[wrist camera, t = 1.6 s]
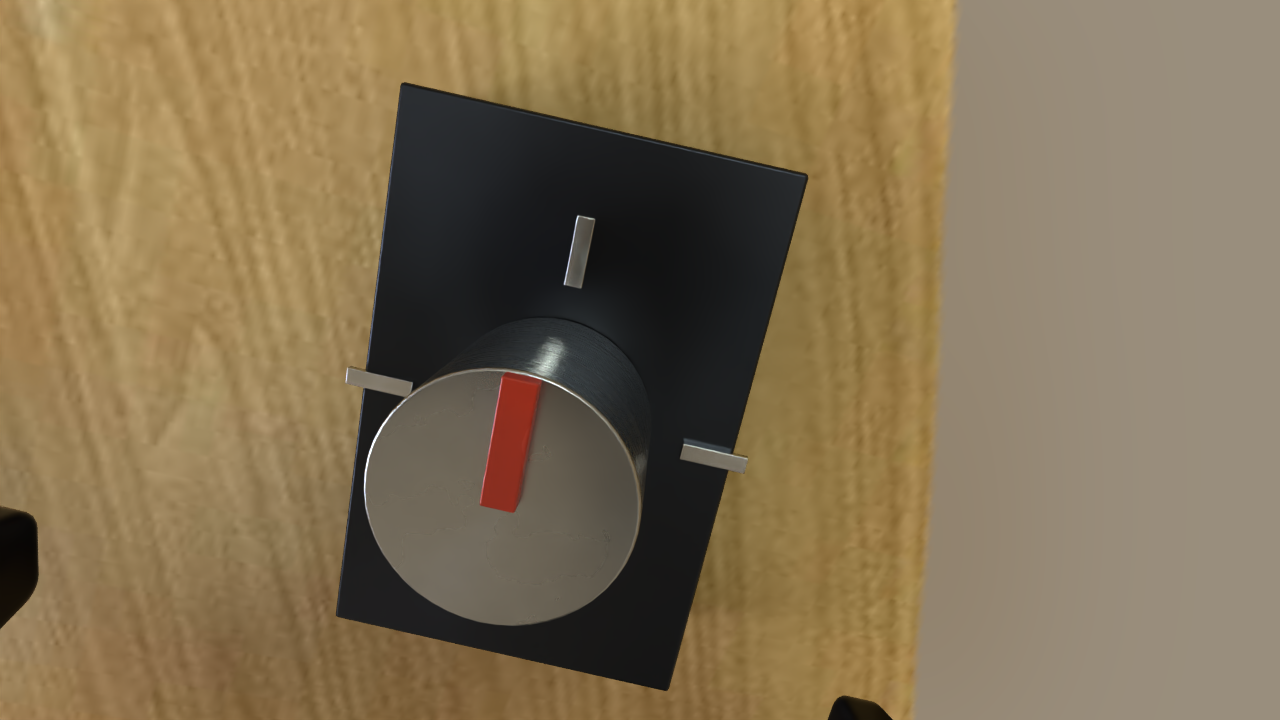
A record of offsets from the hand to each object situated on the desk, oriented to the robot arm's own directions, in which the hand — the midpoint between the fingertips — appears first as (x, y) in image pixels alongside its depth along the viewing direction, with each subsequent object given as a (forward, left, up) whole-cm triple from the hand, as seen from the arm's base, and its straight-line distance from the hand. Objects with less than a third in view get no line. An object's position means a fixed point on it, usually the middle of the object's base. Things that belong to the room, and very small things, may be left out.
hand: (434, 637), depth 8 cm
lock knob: (0, 0, -7) cm, 7 cm away
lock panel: (0, 0, -10) cm, 10 cm away
